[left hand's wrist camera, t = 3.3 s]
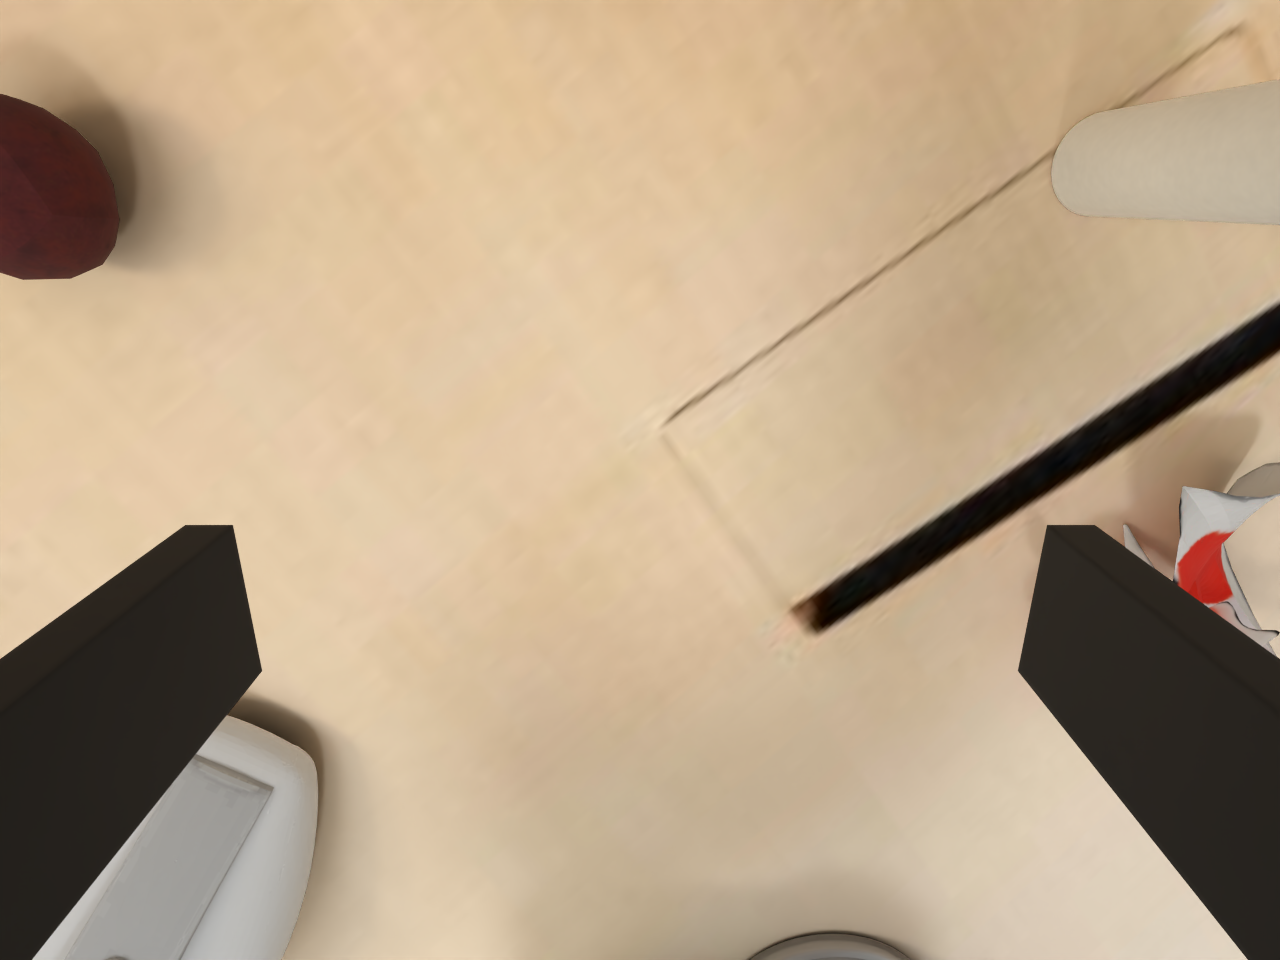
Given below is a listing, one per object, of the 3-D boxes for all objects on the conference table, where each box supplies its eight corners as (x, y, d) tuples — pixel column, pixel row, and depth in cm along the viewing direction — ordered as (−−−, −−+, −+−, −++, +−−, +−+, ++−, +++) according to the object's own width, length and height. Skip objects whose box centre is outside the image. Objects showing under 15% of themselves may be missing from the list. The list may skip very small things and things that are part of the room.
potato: (64, 69, 35) (-72, 39, 28) (188, 219, 37) (90, 225, 30) (-44, 166, 36) (-197, 160, 30) (82, 306, 38) (-34, 329, 32)
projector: (426, 935, 53) (352, 1192, 39) (134, 1004, 56) (-32, 1269, 42) (281, 676, 46) (128, 880, 32) (-49, 769, 48) (-322, 996, 35)
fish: (974, 560, 38) (1190, 674, 30) (1164, 380, 42) (1401, 441, 34) (995, 679, 45) (1178, 798, 37) (1158, 514, 48) (1356, 591, 41)
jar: (1058, 113, 36) (1383, 48, 20) (1159, 108, 35) (1565, 39, 20) (1044, 218, 37) (1335, 235, 22) (1140, 214, 37) (1502, 227, 21)
